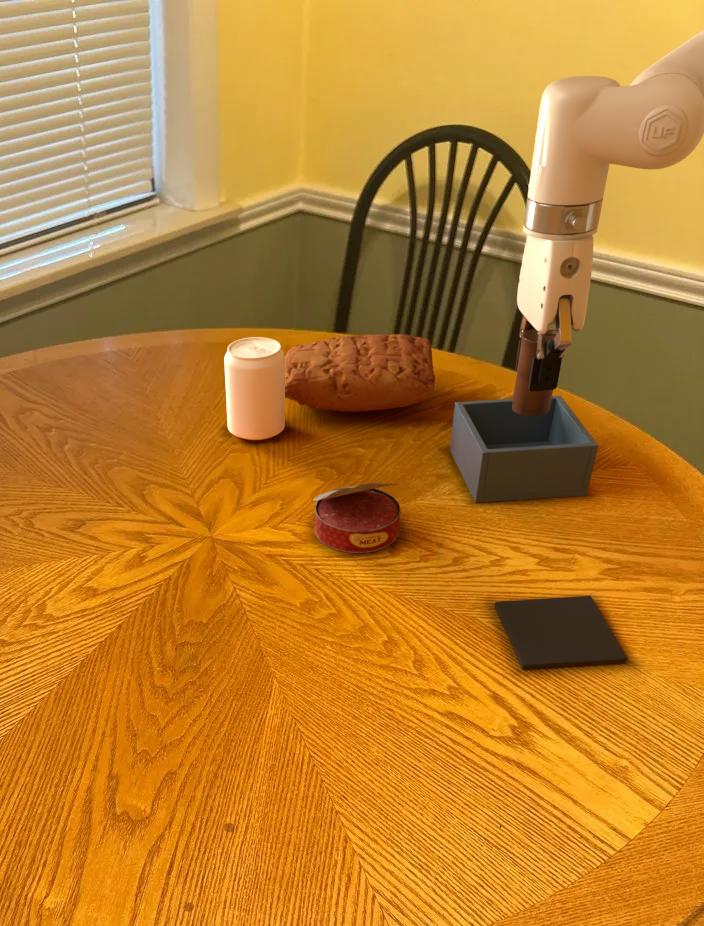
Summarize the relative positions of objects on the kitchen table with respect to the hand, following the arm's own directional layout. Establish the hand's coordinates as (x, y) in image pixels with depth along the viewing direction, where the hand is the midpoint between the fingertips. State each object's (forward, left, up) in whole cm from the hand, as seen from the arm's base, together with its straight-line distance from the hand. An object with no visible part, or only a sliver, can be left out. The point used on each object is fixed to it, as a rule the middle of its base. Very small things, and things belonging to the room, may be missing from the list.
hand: (535, 378), depth 105 cm
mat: (+5, +32, -12) cm, 35 cm away
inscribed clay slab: (+17, -23, -13) cm, 32 cm away
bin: (0, 0, -13) cm, 12 cm away
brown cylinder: (0, 0, -4) cm, 4 cm away
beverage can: (+32, -16, -13) cm, 38 cm away
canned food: (+22, +11, -13) cm, 28 cm away
